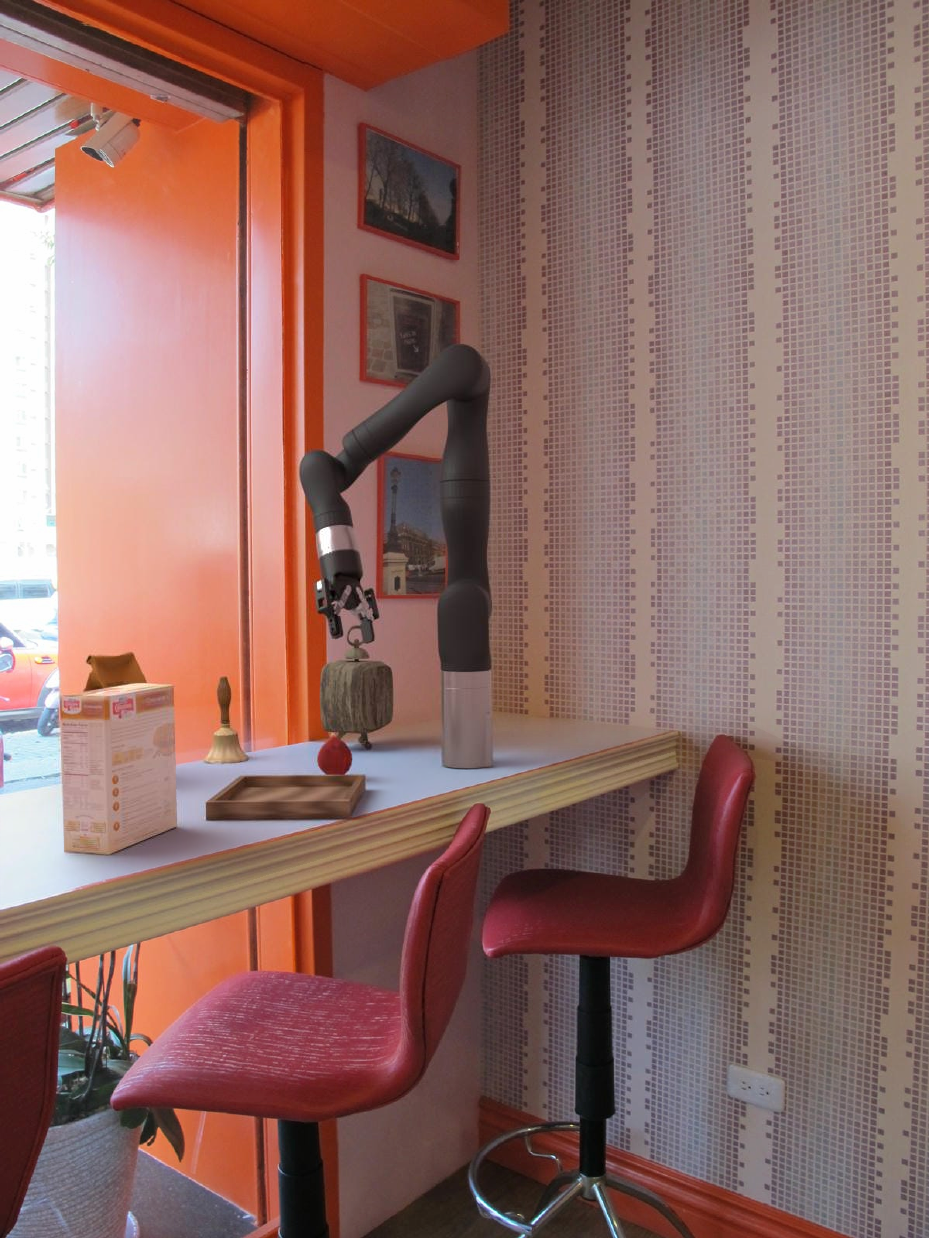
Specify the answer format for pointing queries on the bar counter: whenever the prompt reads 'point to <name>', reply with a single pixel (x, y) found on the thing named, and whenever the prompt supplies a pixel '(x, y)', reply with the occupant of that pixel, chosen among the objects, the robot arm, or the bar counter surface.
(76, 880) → the bar counter surface
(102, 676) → the coffee package
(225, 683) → the hand bell
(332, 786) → the walnut tray
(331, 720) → the tabletop clock
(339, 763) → the onion
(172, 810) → the coffeecake box
